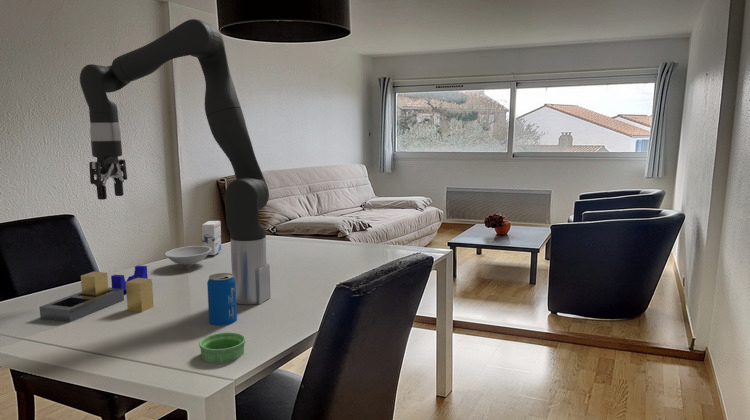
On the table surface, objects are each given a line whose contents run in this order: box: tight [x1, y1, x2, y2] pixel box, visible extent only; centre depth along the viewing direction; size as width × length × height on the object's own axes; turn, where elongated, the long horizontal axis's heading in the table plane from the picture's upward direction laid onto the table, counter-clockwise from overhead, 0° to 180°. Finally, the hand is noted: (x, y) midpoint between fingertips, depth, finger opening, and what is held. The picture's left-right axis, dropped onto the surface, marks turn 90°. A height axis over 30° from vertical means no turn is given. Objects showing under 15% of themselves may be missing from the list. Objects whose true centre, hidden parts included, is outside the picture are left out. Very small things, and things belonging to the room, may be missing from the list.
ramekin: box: [198, 331, 246, 364], centre depth 107 cm, size 9×9×4 cm
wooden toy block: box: [126, 278, 155, 313], centre depth 137 cm, size 4×4×8 cm
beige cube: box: [80, 271, 109, 297], centre depth 140 cm, size 4×4×8 cm
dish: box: [164, 245, 212, 267], centre depth 183 cm, size 18×14×5 cm
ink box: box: [201, 220, 222, 256], centre depth 201 cm, size 9×5×12 cm, turn 179°
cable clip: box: [110, 264, 149, 296], centre depth 154 cm, size 12×4×6 cm, turn 169°
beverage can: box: [206, 272, 238, 327], centre depth 127 cm, size 6×6×12 cm
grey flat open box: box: [39, 286, 125, 323], centre depth 137 cm, size 9×18×4 cm, turn 164°
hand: (111, 197), depth 149 cm, fingers open, 8 cm apart
